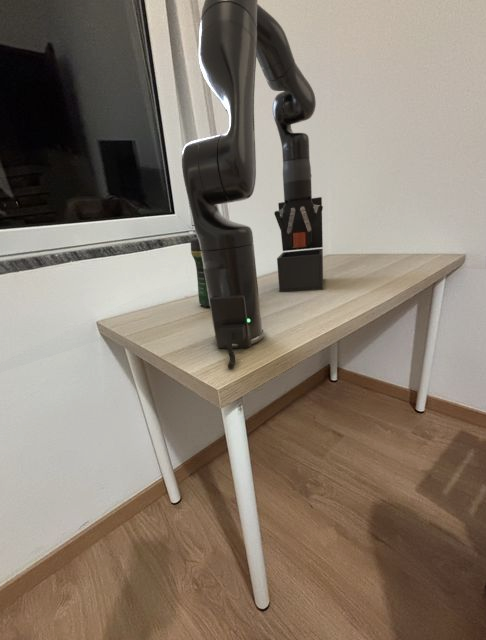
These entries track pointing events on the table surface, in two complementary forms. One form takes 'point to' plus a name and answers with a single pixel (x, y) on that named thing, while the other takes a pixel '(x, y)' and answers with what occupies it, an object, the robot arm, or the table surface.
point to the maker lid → (303, 228)
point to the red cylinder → (299, 239)
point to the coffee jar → (200, 272)
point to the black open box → (300, 270)
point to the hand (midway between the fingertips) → (300, 245)
